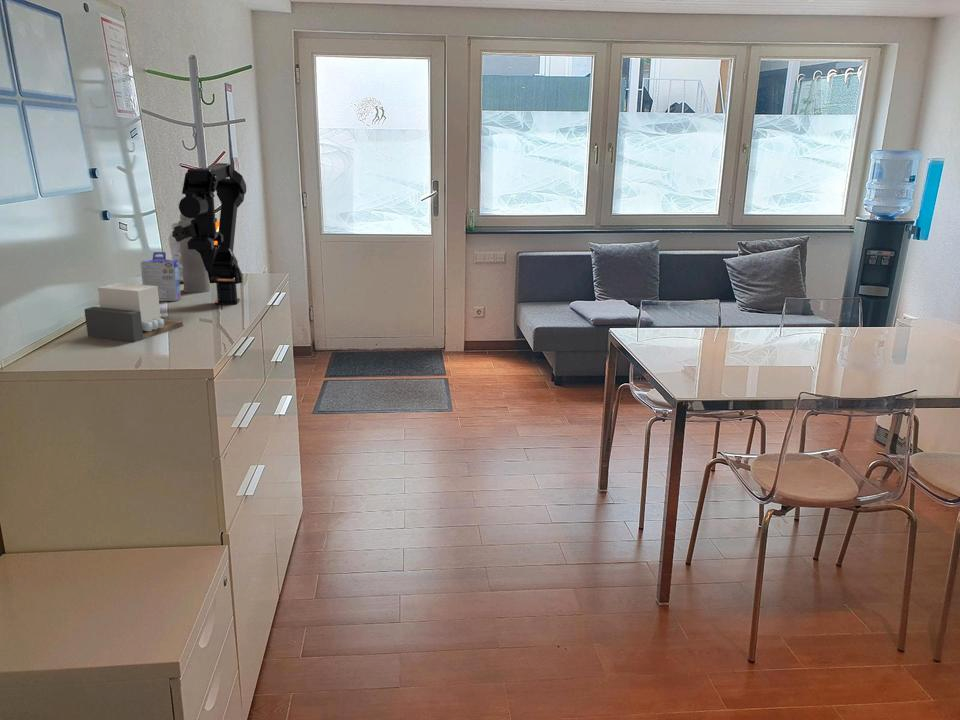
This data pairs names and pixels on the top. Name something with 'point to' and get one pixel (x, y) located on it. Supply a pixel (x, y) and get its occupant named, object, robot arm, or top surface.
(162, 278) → the ink cartridge box
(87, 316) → the block
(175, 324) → the brown wooden plank
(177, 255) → the plastic bottle
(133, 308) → the white rectangular box
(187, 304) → the top surface
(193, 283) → the thermos bottle
